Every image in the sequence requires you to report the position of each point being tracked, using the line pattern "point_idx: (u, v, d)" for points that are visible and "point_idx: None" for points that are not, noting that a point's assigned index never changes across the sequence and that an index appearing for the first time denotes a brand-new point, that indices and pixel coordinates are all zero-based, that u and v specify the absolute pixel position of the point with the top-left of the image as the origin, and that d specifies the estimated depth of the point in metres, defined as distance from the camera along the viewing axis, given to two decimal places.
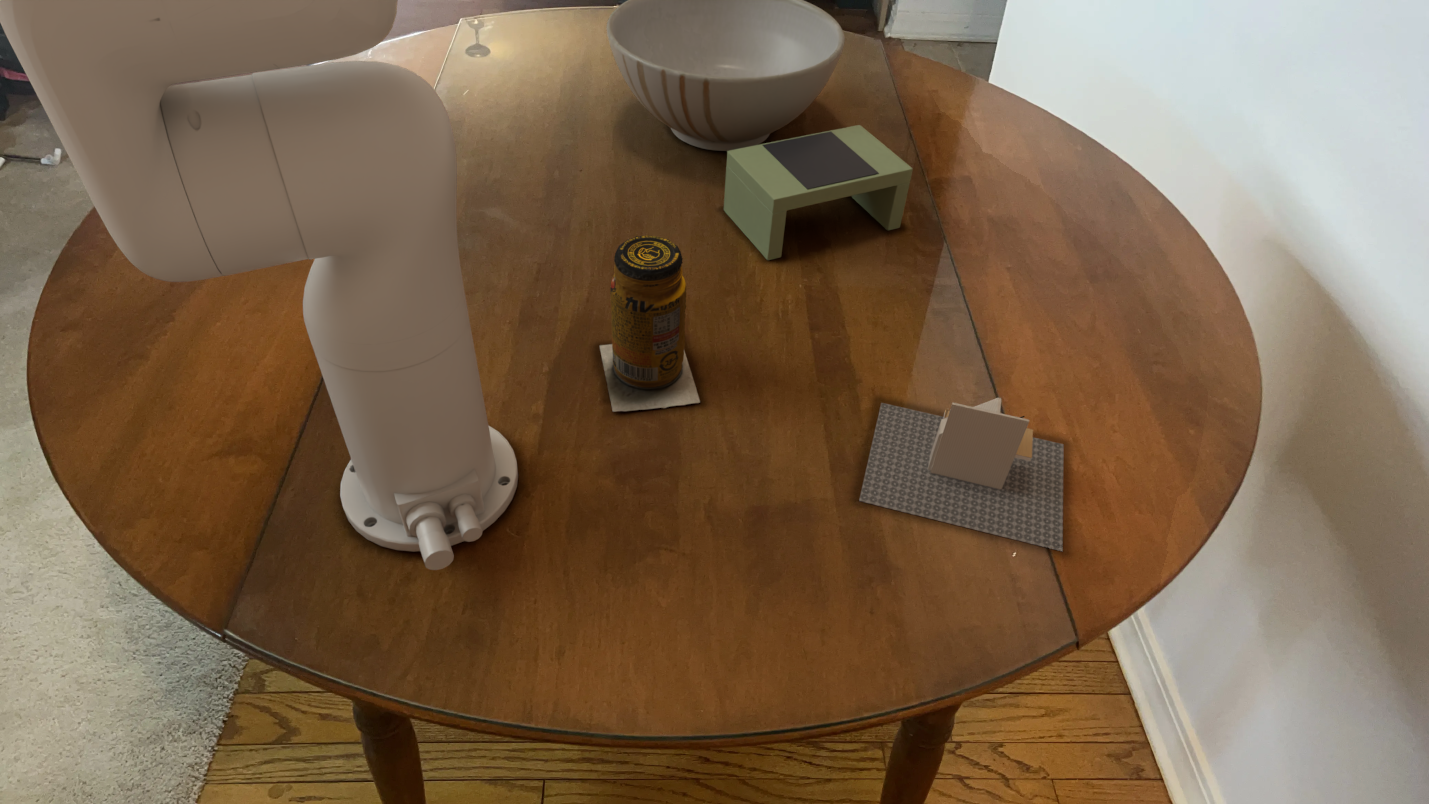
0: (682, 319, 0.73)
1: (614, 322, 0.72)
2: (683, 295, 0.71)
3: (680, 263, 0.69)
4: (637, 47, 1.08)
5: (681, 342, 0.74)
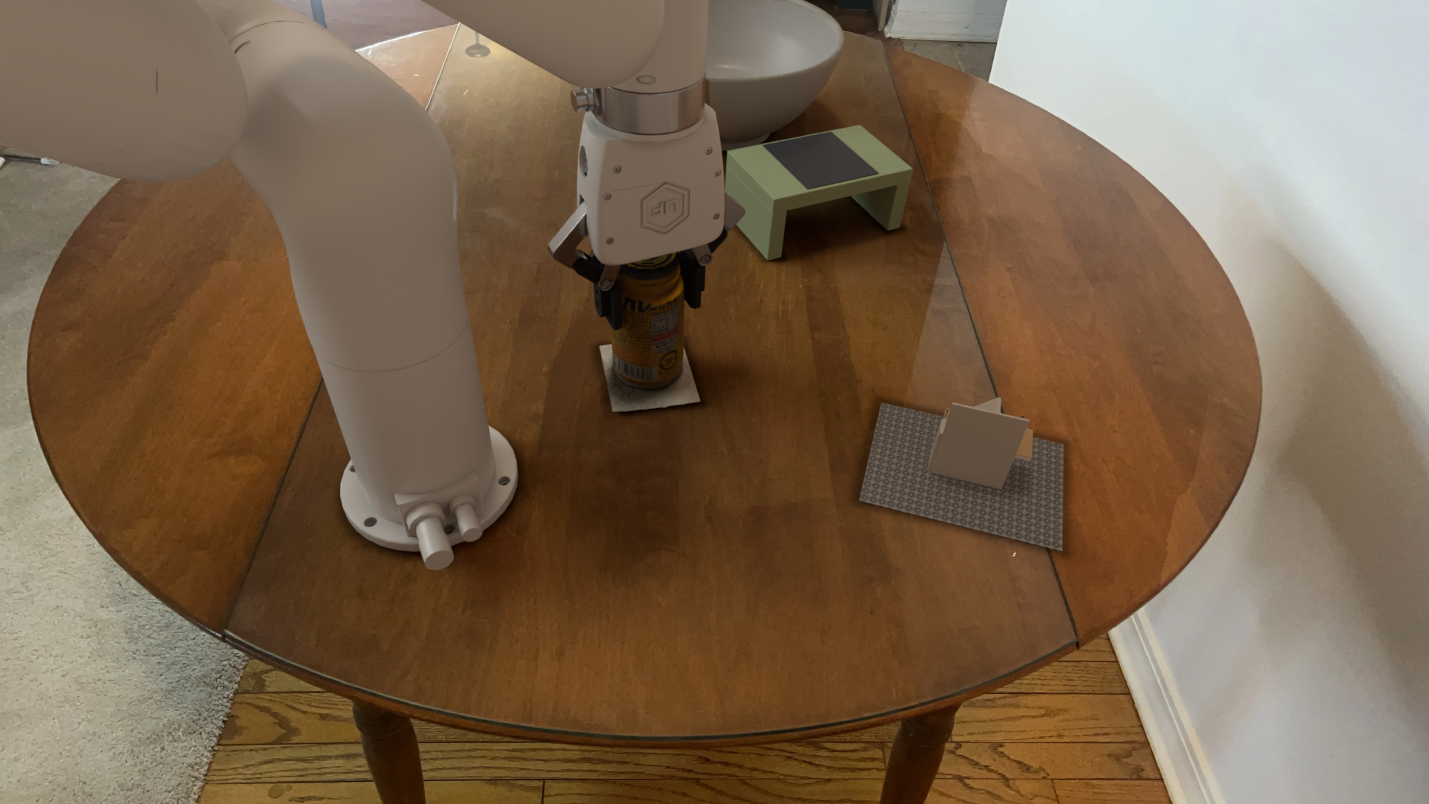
0: (681, 318, 0.72)
1: None
2: (681, 294, 0.71)
3: (677, 262, 0.69)
4: None
5: (680, 341, 0.74)
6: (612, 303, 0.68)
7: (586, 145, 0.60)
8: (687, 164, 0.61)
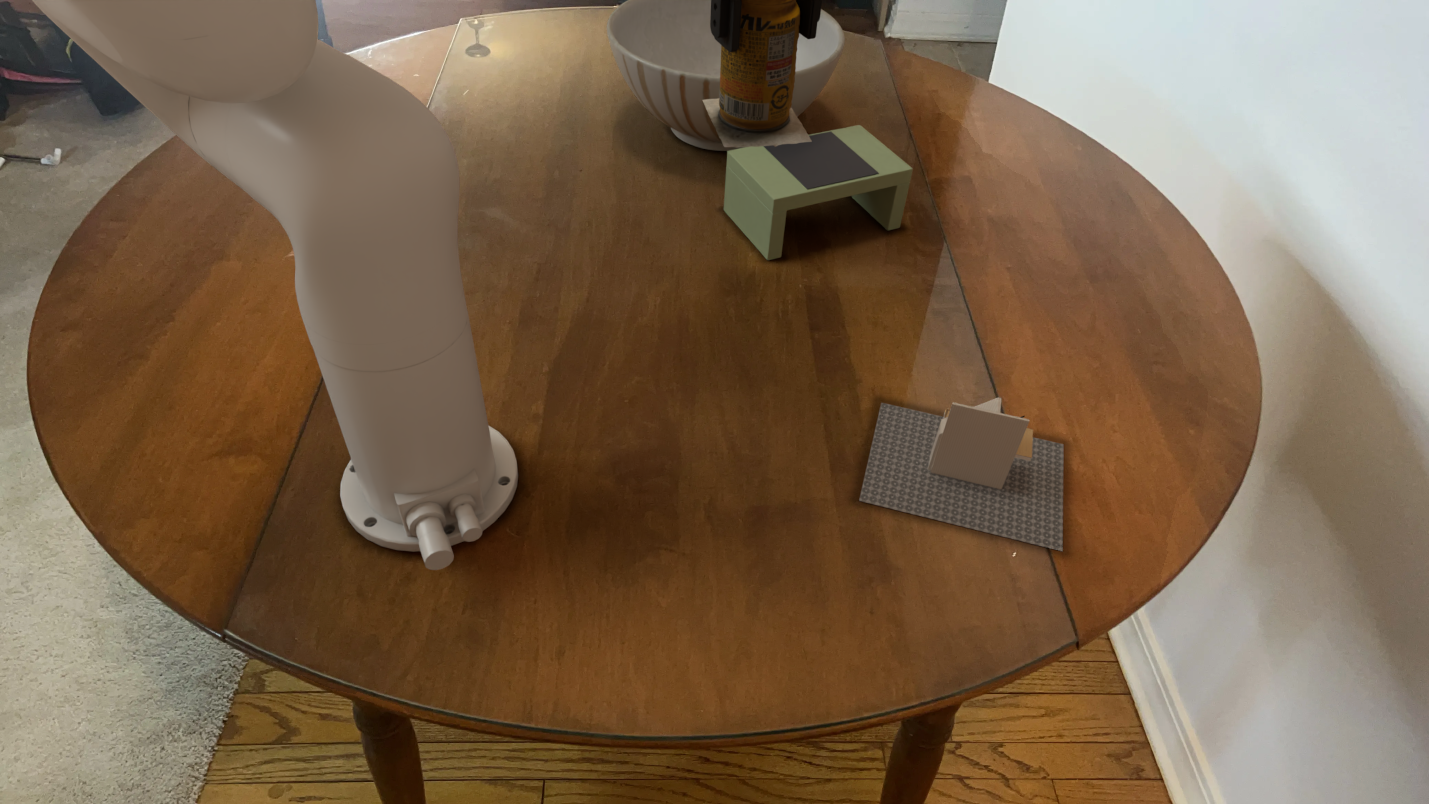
0: (795, 48, 0.71)
1: (726, 52, 0.70)
2: (798, 18, 0.69)
3: None
4: (637, 47, 1.08)
5: (792, 78, 0.72)
6: (731, 17, 0.66)
7: None
8: None
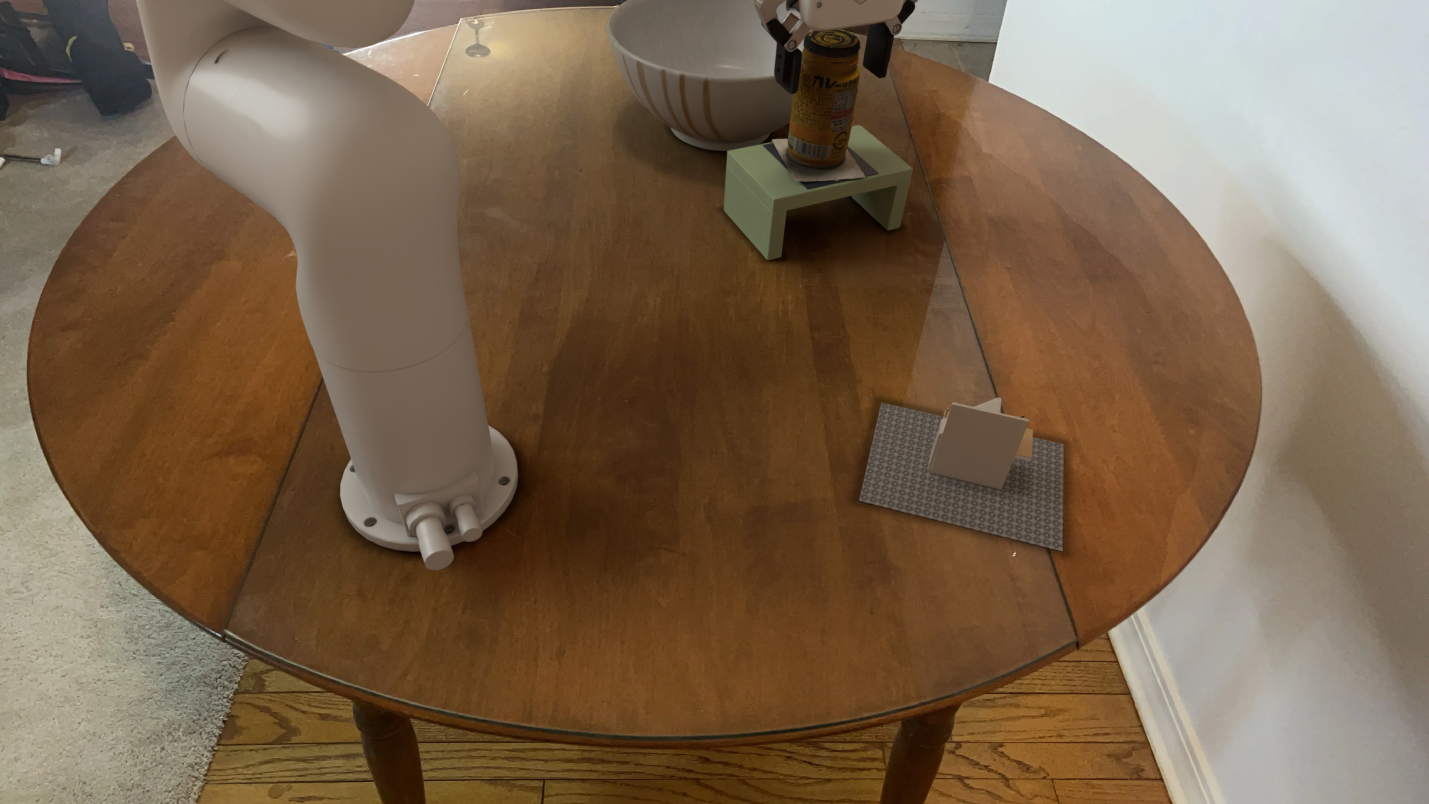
0: (854, 101, 0.86)
1: (797, 104, 0.86)
2: (858, 78, 0.85)
3: (859, 46, 0.83)
4: (637, 47, 1.08)
5: (850, 125, 0.88)
6: (793, 65, 0.81)
7: None
8: None
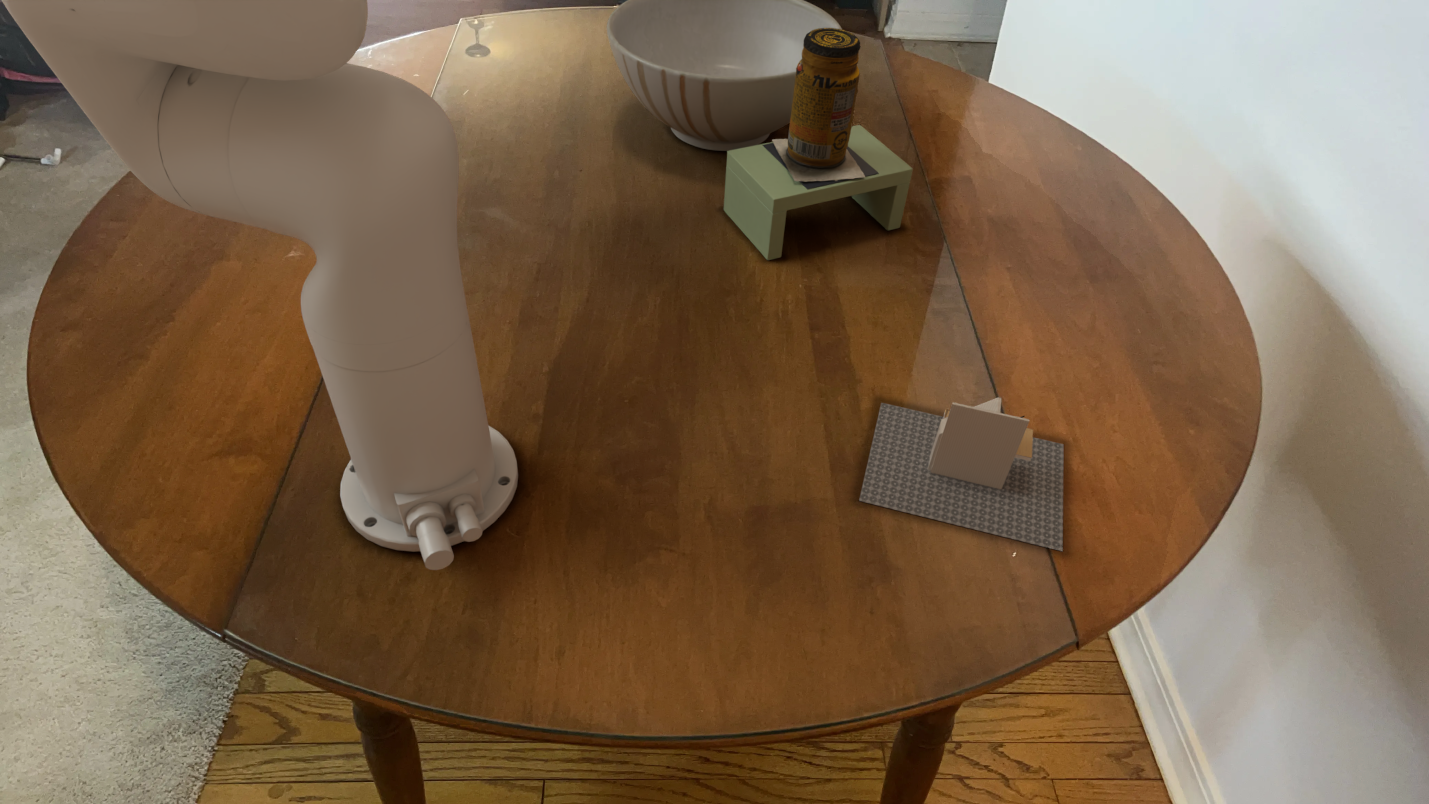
0: (854, 101, 0.86)
1: (797, 104, 0.86)
2: (858, 78, 0.85)
3: (859, 46, 0.83)
4: (637, 47, 1.08)
5: (850, 125, 0.88)
6: None
7: None
8: None
